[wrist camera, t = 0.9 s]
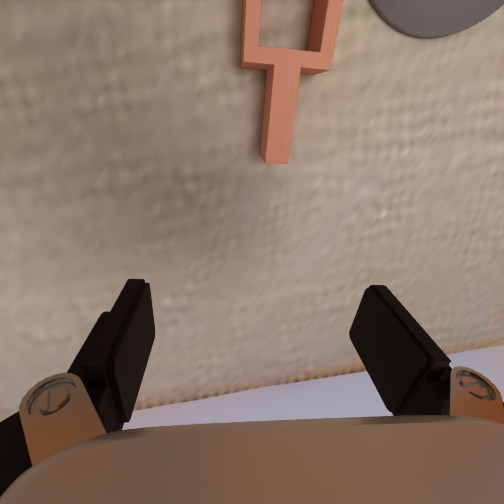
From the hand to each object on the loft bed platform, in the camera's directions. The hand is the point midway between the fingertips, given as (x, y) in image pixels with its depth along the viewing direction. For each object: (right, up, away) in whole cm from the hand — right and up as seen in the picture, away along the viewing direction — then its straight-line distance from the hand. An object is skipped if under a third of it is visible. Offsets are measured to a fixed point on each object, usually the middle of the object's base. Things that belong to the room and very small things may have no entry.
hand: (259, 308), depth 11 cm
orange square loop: (+2, +18, +12) cm, 22 cm away
